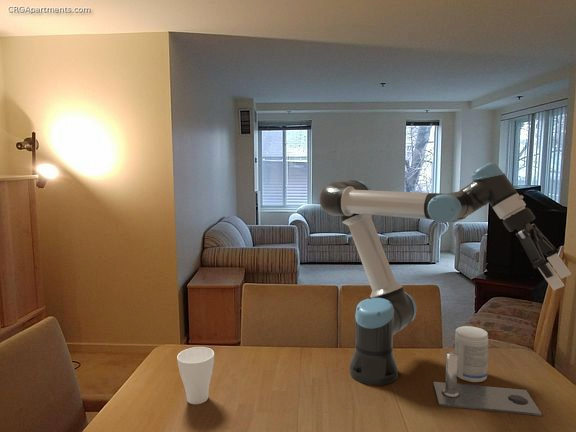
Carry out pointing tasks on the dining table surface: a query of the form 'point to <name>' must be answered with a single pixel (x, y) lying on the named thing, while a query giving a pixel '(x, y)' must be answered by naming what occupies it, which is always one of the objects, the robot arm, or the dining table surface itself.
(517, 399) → the grey flat rectangular plate
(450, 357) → the steel pin
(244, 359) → the dining table surface
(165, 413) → the dining table surface
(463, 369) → the supplement tub
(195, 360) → the cup
